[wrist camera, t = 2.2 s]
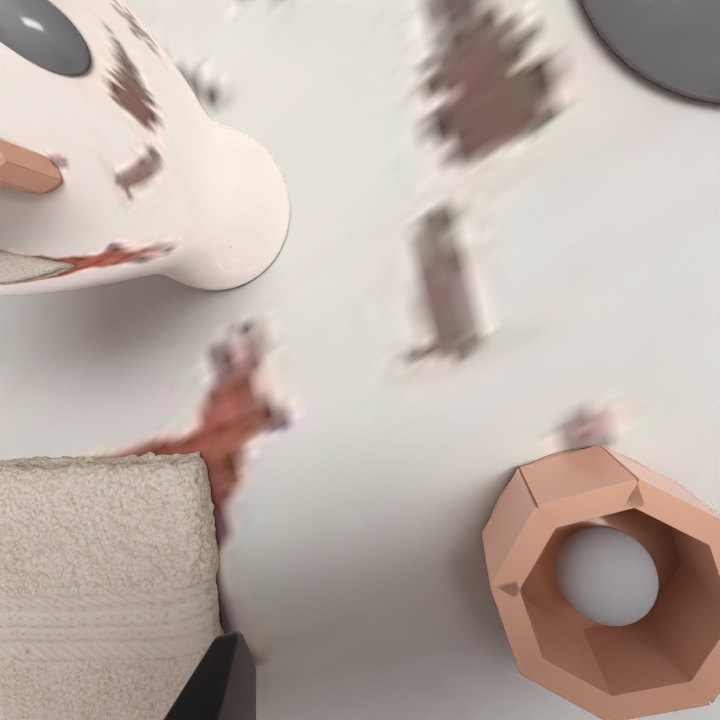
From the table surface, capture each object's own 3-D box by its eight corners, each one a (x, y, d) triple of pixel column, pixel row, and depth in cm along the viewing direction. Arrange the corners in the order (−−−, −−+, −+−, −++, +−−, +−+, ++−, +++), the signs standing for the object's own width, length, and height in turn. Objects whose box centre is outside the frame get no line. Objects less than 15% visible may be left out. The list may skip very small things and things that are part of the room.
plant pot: (626, 665, 19) (673, 758, 15) (455, 573, 20) (458, 640, 16) (728, 506, 18) (809, 563, 14) (543, 415, 19) (570, 444, 15)
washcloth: (-134, 455, 24) (-217, 476, 21) (219, 438, 21) (182, 460, 18) (-92, 688, 25) (-165, 741, 22) (250, 704, 22) (219, 767, 19)
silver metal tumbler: (142, 307, 21) (-605, 306, 6) (124, 129, 20) (-766, -369, 5) (309, 295, 19) (-106, 259, 5) (295, 106, 19) (-234, -614, 4)
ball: (610, 607, 18) (642, 665, 15) (531, 566, 18) (548, 616, 15) (654, 537, 18) (696, 583, 15) (573, 496, 18) (598, 533, 15)
